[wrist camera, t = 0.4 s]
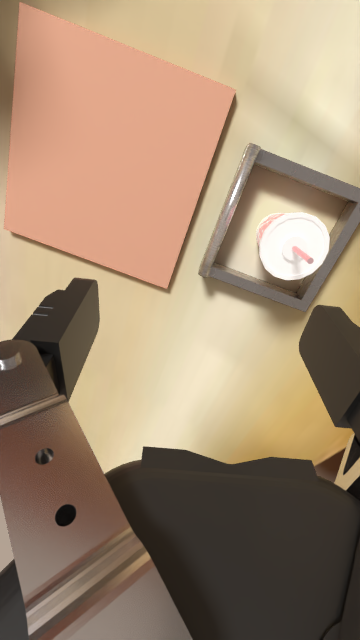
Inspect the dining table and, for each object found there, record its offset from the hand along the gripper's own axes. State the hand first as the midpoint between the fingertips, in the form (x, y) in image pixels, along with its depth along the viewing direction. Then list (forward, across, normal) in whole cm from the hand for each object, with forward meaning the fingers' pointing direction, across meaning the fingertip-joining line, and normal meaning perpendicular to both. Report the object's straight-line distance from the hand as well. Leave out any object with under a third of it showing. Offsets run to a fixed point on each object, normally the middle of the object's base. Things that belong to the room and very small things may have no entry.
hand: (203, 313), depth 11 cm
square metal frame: (+25, -10, +4) cm, 28 cm away
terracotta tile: (+28, +10, 0) cm, 30 cm away
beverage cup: (+26, -11, +4) cm, 28 cm away
